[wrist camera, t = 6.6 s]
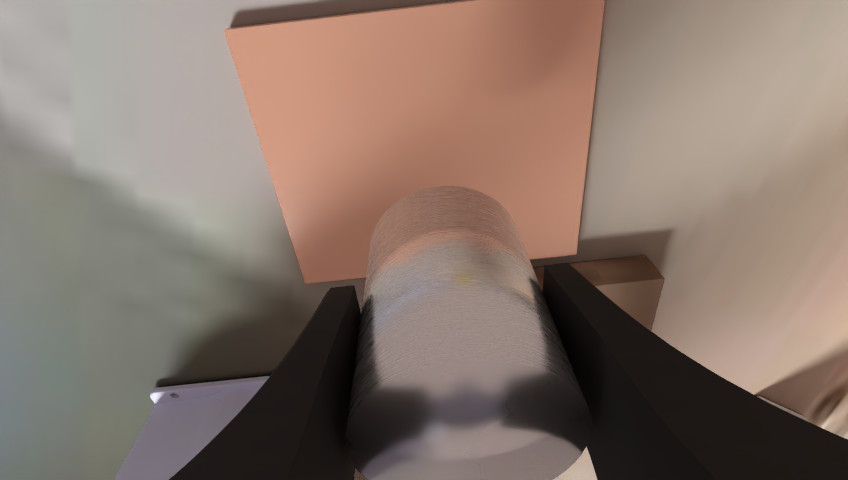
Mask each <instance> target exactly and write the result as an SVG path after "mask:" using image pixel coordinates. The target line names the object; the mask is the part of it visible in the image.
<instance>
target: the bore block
mask: <svg viewBox="0 0 848 480" xmlns="http://www.w3.org/2000/svg"><path fill="white" fill-rule="evenodd" d="M570 265H571V266H572V267H573V268H575V269H576V270H577V271H578V272H579V273H580V274H581V275H583V276H584V277H585V278H586V279H587V280H588V281H589V282H591V283H592V284H593V285H594V286H595V287H596V288H598V289H599V290H600V291H601V292H602V293H603V294H604V295H606V296H607V297H608V298H609V299H610V300H612V301H613V302H614V303H615V304H616V305H618V306H619V307H620V308H621V309H623V310H624V311H625V312H626V313H628V314H629V315H630V316H631V317H633V318H634V319H635V320H636V321H638V322H639V323H640V324H642V325H643V326H644V327H646V328H647V329H648V330H650V331H651V329H652V325H653V321H654V318H655V314H656V310H657V306H658V302H659V298H660V294H661V290H662V287H663V283H664V279H665V278H664V277H663V276H662V275H661V274H660V272H659V271H658V270H657V269H656V267H655V266H654V265H653V264H652V262H651V261H650V260H649V259H648V258H647V256H646V255H644V256H635V257H625V258H616V259H607V260H597V261H588V262H579V263H570ZM533 270H534V272H535V275H536V277H537V280H538V282H539V285H540V287H541V290H542V292H543V277H544V266H542V267H533Z"/></svg>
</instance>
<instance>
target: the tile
mask: <svg viewBox="0 0 848 480" xmlns="http://www.w3.org/2000/svg"><path fill="white" fill-rule="evenodd" d="M604 4H605V0H460V1H452V2H443V3H435V4H426V5H418V6H409V7H401V8H392V9H384V10H375V11H367V12H359V13H350V14H342V15H333V16H325V17H316V18H308V19H299V20H291V21H282V22H274V23H265V24H257V25H248V26H240V27H231V28H227V29H225V30H224V32H225V35H226V38H227V41H228V45H229V48H230V51H231V54H232V57H233V60H234V63H235V66H236V69H237V73H238V76H239V79H240V82H241V85H242V88H243V91H244V94H245V98H246V101H247V104H248V107H249V110H250V113H251V116H252V119H253V122H254V126H255V129H256V132H257V135H258V138H259V141H260V144H261V147H262V151H263V154H264V157H265V160H266V163H267V166H268V169H269V172H270V176H271V179H272V182H273V185H274V188H275V191H276V194H277V197H278V200H279V204H280V207H281V210H282V213H283V216H284V219H285V222H286V225H287V229H288V232H289V235H290V238H291V241H292V244H293V247H294V250H295V253H296V257H297V260H298V263H299V266H300V269H301V272H302V275H303V278H304V282H305V284H310V283H319V282H328V281H337V280H347V279H356V278H365V277H366V273H367V265H368V257H369V249H370V242H371V238H372V234H373V231H374V229H375V227H376V225H377V223H378V222H379V220H380V218H381V217H382V216H383V215H384V213H385V212H386V211H387V210H388V209H389V208H390V207H391V206H392V205H394V204H395V203H396V202H398V201H399V200H401V199H402V198H404V197H406V196H408V195H410V194H412V193H414V192H417V191H420V190H423V189H427V188H431V187H438V186H459V187H465V188H470V189H474V190H477V191H479V192H482V193H484V194H486V195H488V196H490V197H492V198H493V199H495V200H496V201H497V202H499V203H500V204H501V205H502V206H503V207H504V208H505V209H506V210H507V211H508V213H509V214H510V215H511V217H512V218H513V220H514V222H515V224H516V226H517V229H518V231H519V234H520V236H521V239H522V242H523V244H524V247H525V249H526V252H527V254H528V257H529V259H530V260H532V259H541V258H550V257H559V256H569V255H576V253H577V244H578V235H579V226H580V217H581V208H582V199H583V191H584V182H585V173H586V164H587V155H588V146H589V137H590V129H591V120H592V111H593V102H594V93H595V84H596V75H597V66H598V58H599V49H600V40H601V31H602V22H603V13H604Z"/></svg>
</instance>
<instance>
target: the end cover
mask: <svg viewBox="0 0 848 480" xmlns="http://www.w3.org/2000/svg"><path fill="white" fill-rule="evenodd" d="M591 427H592V425H591V416H590V413H589V410H588V407H587V404H586V402H585V399H584V396H583V394H582V391H581V389H580V386H579V384H578V381H577V379H576V376H575V374H574V371H573V369H572V366H571V363H570V361H569V358H568V356H567V353H566V351H565V348H564V346H563V343H562V341H561V338H560V336H559V333H558V330H557V328H556V325H555V323H554V320H553V318H552V315H551V313H550V310H549V308H548V305H547V303H546V300H545V297H544V295H543V292H542V290H541V287H540V285H539V282H538V280H537V277H536V275H535V272H534V270H533V267H532V264H531V262H530V259H529V257H528V254H527V252H526V249H525V247H524V244H523V242H522V239H521V236H520V234H519V231H518V229H517V226H516V224H515V222H514V220H513V218H512V217H511V215H510V214H509V213H508V211H507V210H506V209H505V208H504V207H503V206H502V205H501V204H500V203H499V202H497V201H496V200H495V199H493V198H492V197H490V196H488V195H486V194H484V193H482V192H479V191H477V190H474V189H470V188H465V187H459V186H438V187H431V188H427V189H423V190H420V191H417V192H414V193H412V194H410V195H408V196H406V197H404V198H402V199H401V200H399V201H398V202H396V203H395V204H394V205H392V206H391V207H390V208H389V209H388V210H387V211H386V212H385V213H384V215H383V216H382V217H381V218H380V220H379V222H378V223H377V225H376V227H375V229H374V231H373V234H372V238H371V242H370V249H369V257H368V265H367V273H366V281H365V289H364V297H363V305H362V313H361V321H360V328H359V336H358V344H357V352H356V360H355V368H354V376H353V384H352V392H351V399H350V407H349V415H348V423H347V431H346V447H347V452H348V455H349V457H350V460H351V462H352V463H353V465H354V466H355V468H356V469H357V470H358V471H359V472H360V473H361V474H362V475H363V476H364V477H365V478H366V479H368V480H553V479H555V478H556V477H558V476H559V475H560V474H562V473H563V472H564V471H566V470H567V469H568V468H569V467H570V466H571V465H572V464H573V463H575V461H576V460H577V459H578V458H579V457H580V455H581V454H582V452H583V451H584V449H585V447H586V446H587V443H588V441H589V438H590V434H591Z"/></svg>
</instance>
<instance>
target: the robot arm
mask: <svg viewBox="0 0 848 480" xmlns="http://www.w3.org/2000/svg"><path fill="white" fill-rule="evenodd" d="M543 295H544V297H545V300H546V303H547V305H548V308H549V310H550V313H551V315H552V318H553V320H554V323H555V325H556V328H557V330H558V333H559V336H560V338H561V341H562V343H563V346H564V348H565V351H566V353H567V356H568V358H569V361H570V363H571V366H572V369H573V371H574V374H575V376H576V379H577V381H578V384H579V386H580V389H581V391H582V394H583V396H584V399H585V402H586V404H587V407H588V410H589V413H590V416H591V425H592V427H591V434H590V438H589V441H588V443H587V449H588V451H589V454H590V457H591V460H592V463H593V466H594V470H595V473H596V476H597V479H598V480H848V440H847V439H845V438H843V437H840V436H838V435H836V434H833V433H831V432H829V431H827V430H825V429H822V428H820V427H818V426H816V425H814V424H812V423H810V422H807V421H805V420H803V419H801V418H799V417H797V416H795V415H792V414H790V413H788V412H786V411H784V410H782V409H780V408H778V407H776V406H774V405H772V404H770V403H768V402H766V401H764V400H762V399H761V398H759V397H757V396H755V395H753V394H751V393H749V392H748V391H746V390H744V389H742V388H740V387H738V386H737V385H735V384H733V383H731V382H729V381H727V380H726V379H724V378H722V377H720V376H719V375H717V374H715V373H714V372H712V371H710V370H709V369H707V368H705V367H704V366H702V365H701V364H699V363H697V362H696V361H694V360H693V359H691V358H689V357H688V356H686V355H685V354H683V353H681V352H680V351H678V350H677V349H675V348H674V347H672V346H671V345H669V344H668V343H667V342H665V341H664V340H662V339H661V338H660V337H658V336H657V335H655V334H654V333H653V332H651V331H650V330H648V329H647V328H646V327H644V326H643V325H642V324H640V323H639V322H638V321H636V320H635V319H634V318H633V317H631V316H630V315H629V314H628V313H626V312H625V311H624V310H623V309H621V308H620V307H619V306H618V305H616V304H615V303H614V302H613V301H612V300H610V299H609V298H608V297H607V296H606V295H604V294H603V293H602V292H601V291H600V290H599V289H598V288H596V287H595V286H594V285H593V284H592V283H591V282H589V281H588V280H587V279H586V278H585V277H584V276H583V275H581V274H580V273H579V272H578V271H577V270H576V269H575V268H573V267H572V266H571V265H570V264H569V263H564V264H554V265H545V266H544V277H543ZM360 321H361V312H360V308H359V304H358V299H357V295H356V291H355V287H354V286H345V287H336V288H330V290H329V291H328V292H327V293H326V295H325V297H324V298H323V300H322V302H321V303H320V305H319V307H318V308H317V310H316V311H315V313H314V315H313V316H312V318H311V319H310V321H309V322H308V324H307V325H306V327H305V329H304V330H303V331H302V333H301V334H300V336H299V337H298V339H297V340H296V342H295V343H294V345H293V346H292V347H291V349H290V350H289V352H288V353H287V354H286V356H285V357H284V358H283V360H282V361H281V362H280V364H279V365H278V366H277V368H276V369H275V370H274V371H273V373H272V374H271V375H270V376H263V377H254V378H244V379H235V380H225V381H216V382H206V383H196V384H187V385H177V386H168V387H158V388H155V389H153V390H152V392H151V394H150V397H151V399H152V400H153V402H154V403H155V405H154V407H153V409H152V411H151V413H150V415H149V416H148V418H147V420H146V422H145V424H144V426H143V428H142V429H141V431H140V433H139V435H138V437H137V439H136V440H135V442H134V444H133V446H132V448H131V450H130V452H129V453H128V455H127V457H126V459H125V461H124V463H123V465H122V466H121V468H120V470H119V472H118V474H117V476H116V477H115V479H114V480H354V473H355V466H354V465H353V463H352V462H351V460H350V457H349V455H348V452H347V447H346V431H347V423H348V415H349V407H350V399H351V392H352V384H353V376H354V368H355V360H356V352H357V344H358V336H359V328H360Z"/></svg>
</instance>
